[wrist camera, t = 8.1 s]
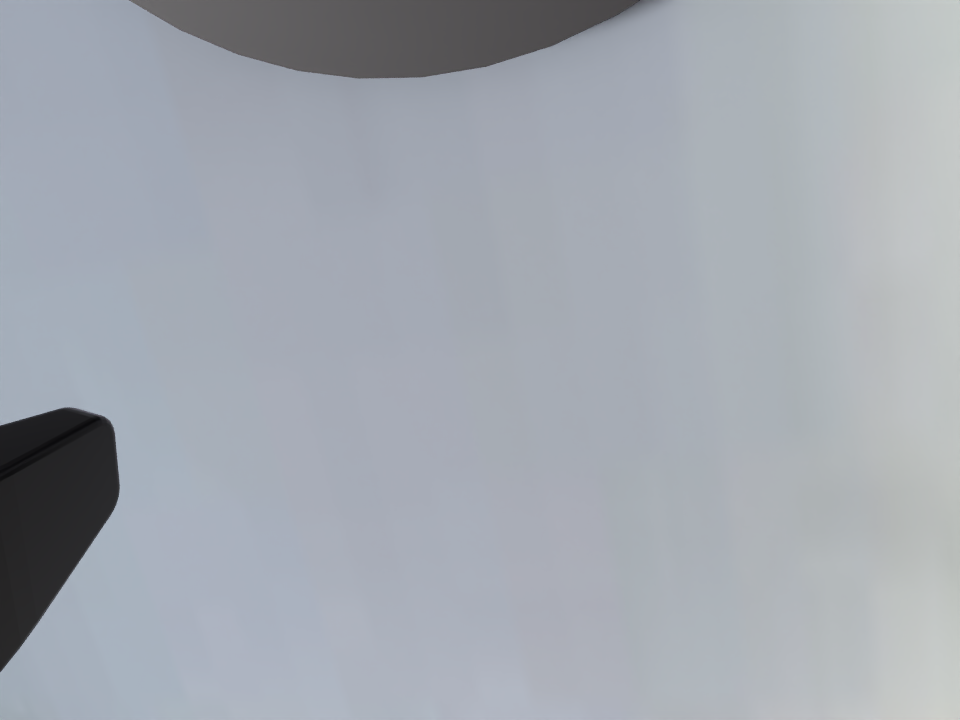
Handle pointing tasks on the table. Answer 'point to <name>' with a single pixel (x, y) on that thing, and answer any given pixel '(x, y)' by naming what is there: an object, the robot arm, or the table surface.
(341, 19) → the cap base
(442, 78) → the table surface
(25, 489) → the robot arm
